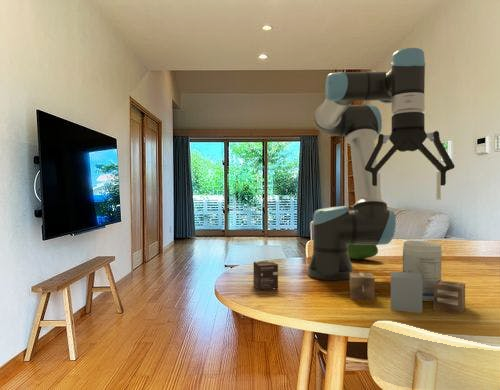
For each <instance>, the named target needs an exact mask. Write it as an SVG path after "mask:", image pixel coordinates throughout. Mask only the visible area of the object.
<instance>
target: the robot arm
mask: <svg viewBox="0 0 500 390" xmlns="http://www.w3.org/2000/svg"><path fill="white" fill-rule="evenodd" d="M425 59H426V58H425V52H424V50H423V49H421V48H419V47H405V48H401V49H399V50H396V51H395V52H394V53H393V54H392V56H391V64H390V66H391V69H390V70H389V71H368V72H367V71H366V72H365V71H362V72H361V71H360V72H359V71H358V72H356V71H355V72H354V71H353V72H352V71H350V72H349V71H348V72H347V71H345V72H344V71H340V72H331V73H329V74H328V75H327V76H326V79H325V87H324V88H325V89H324V92H325V93H324V94H325V99H324V101H323V102H322V104H320V105H319V106H318V107H317V108H316V109H315V112H314V115H313V120H314V121H313V122H314V123H315V126H316V127H317V129H318V130H320V131H321V132H322V133H324V134H326V135H329V136H333V137H345V142H346V143H347V145H350V154H351V167H352V175H353V177H352V178H353V187H354V188H353V189H354V197H355V203H354V204H353V205H352V206H351V209H350V208H349V207H348V206H347V205H341V206H331V207H324V208H319V209H316V210H315V211H314V212H313V218H312V219H313V220H312V226H313V229H312V230H313V233H312V235H313V236H312V241H313V242H312V243H313V244H312V245H313V246H312V255H311V258H310V261H309V264H308V267H307V275H308V277H310V278H313V279H317V280H323V281H324V280H326V281H346V280H350V272H353V273H355V272H354V268H353V264H352V261H351V258H349V255H348V245H376V246H378V245H379V246H380V245H382V246H383V245H388V244H390V243H391V242H392V241H393V238H394V235H395V231H396V224H397V223H396V222H397V221H396V220H397V218H396V214H395V212H394V211H393V210H392V209H388V204H387V202H386V201H384V200H383V199H382V193H381V172H380V173H379V171H380V170H381V169H382V168H383V166H384V165H385V164H386V163H387V162H388V161H389V160H390V159H391V157H392V156H393V155H394V154H395V153H396V152H397V151H398V152H400V153H402V152H403V153H405V152H415V151H417V150H418V151H419V153H421V154H422V155H423V156H424V157H425V158H426V159H427V160H428V161H429V162H430V163H431V164H432V165H433V166H434V167H435V168H436V169H437V171H438V172H435V200H441V196H442V195H441V194H442V193H441V188H442V187H441V186H445V185H446V182H447V180H446V178H447V176H446V175H447V172H448V171H450V170H453V169H454V168H455V164H454V163H453V160H452V158H451V157H450V155H449V154H448V151H447V150H446V148H445V146H444V144H443V143H442V141H441V140H440V131H438V130H434V131H433V132H426V131H425V129H426V128H425V120H426V119H425V113H424V111H425V107H426V106H425V89H426V88H425V85H426V84H425V83H426V81H425V79H426V78H425V77H426V75H425V74H426V73H425V72H426V61H425ZM355 101H356V102H357V101H358V102H359V101H362V102H363V101H379V102H381V103H383V104H391V114H392V116H391V133H390V135H388V134H383V133H381V132H382V129H383V126H382V125H383V124H382V122H383V119H382V114H381V111H380V109H379V108H378V106H376V105H374V104H366V103H365V104H352V103H353V102H355ZM427 139H429V141H430V142H433V144H434V146H435V149H436V150H437V152H438V153H439V155H440V158H441V159H442V161H443V162H444V164H445V165H444V164H443V163H442V162H441V161H439V159H438V158H437V157H435V155H433V153H432V152H431V151H430V150H429V149H428V148H427V147H426V145H424V144H423V143H424V142H425V140H427ZM376 140H377V143H376V145H375V141H376ZM387 141H390V142H391V144H392V146H391V147H390V149H389V150H388V151H387V152H386V154H385V155H384V156H383V157H382V158H381V159H380V160H379V161H378V160H377V157H378V156H379V154H380V151H381V149H382V147H383V144H386V143H387ZM377 161H378V162H377Z"/></svg>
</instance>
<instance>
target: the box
mask: <svg viewBox="0 0 500 390" xmlns="http://www.w3.org/2000/svg"><path fill="white" fill-rule="evenodd" d="M252 279H253V280H252V281H253V284H254V285H255V286H256V287H257V288H258V289H259V291H261V290H260V289H271V290H274V289H273V288H279V264H278V263H276V262H274V261H272V260H271V261H265V260H264V261H253V278H252ZM253 284H252V285H253ZM254 285H253V286H254ZM255 286H254V287H255ZM256 287H255V288H256ZM257 288H256V289H257ZM258 289H257V290H258Z"/></svg>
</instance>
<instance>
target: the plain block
mask: <svg viewBox="0 0 500 390" xmlns="http://www.w3.org/2000/svg"><path fill="white" fill-rule="evenodd" d="M390 310H391V311H400V312H409V313H419V314H423V301H422V276H421V273H409V272H403V271H394V270H391V271H390Z"/></svg>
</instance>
